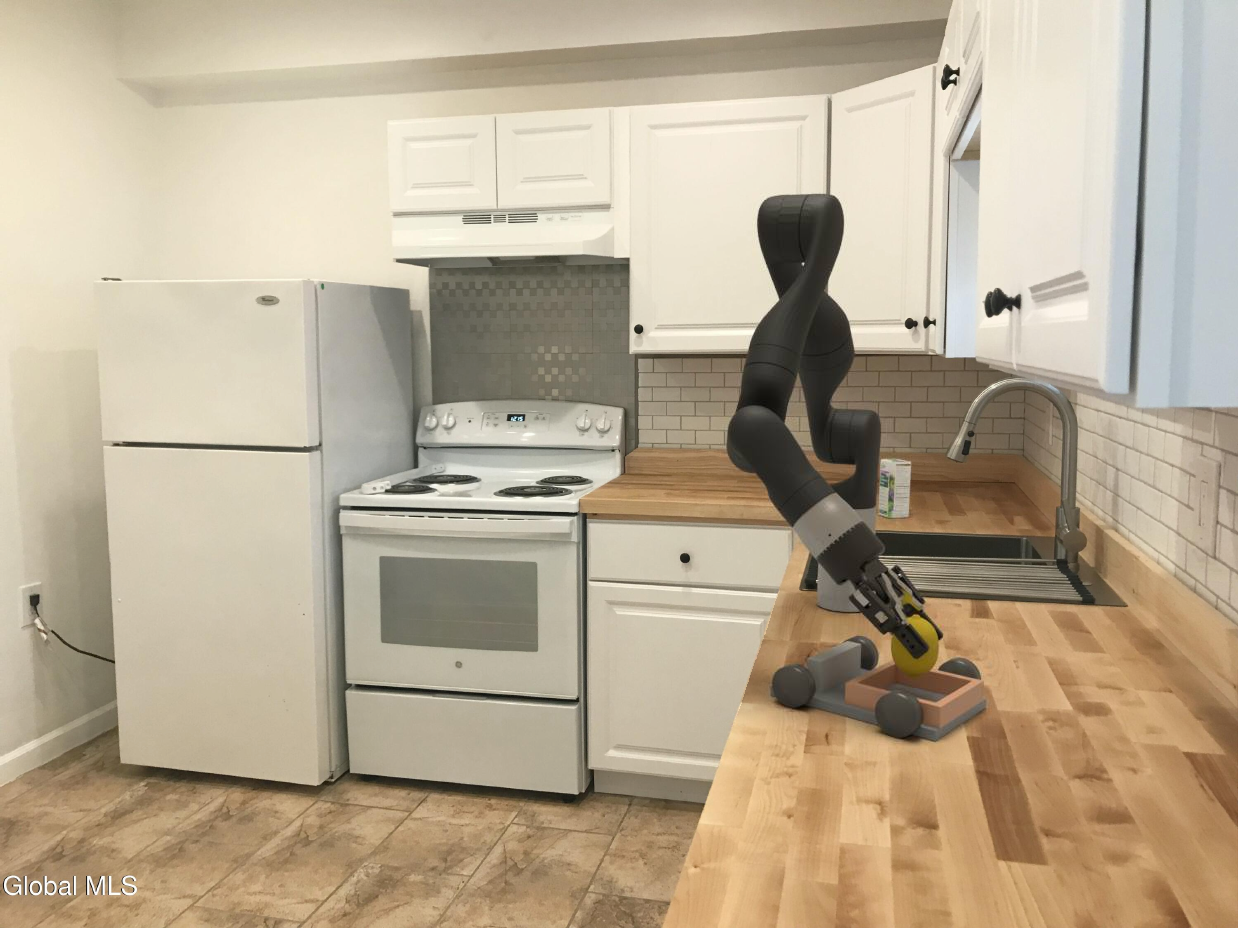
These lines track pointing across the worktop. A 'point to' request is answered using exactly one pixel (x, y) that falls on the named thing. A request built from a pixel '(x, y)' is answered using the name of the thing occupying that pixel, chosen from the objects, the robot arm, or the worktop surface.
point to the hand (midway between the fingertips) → (930, 647)
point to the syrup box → (894, 488)
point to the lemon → (904, 657)
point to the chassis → (883, 690)
